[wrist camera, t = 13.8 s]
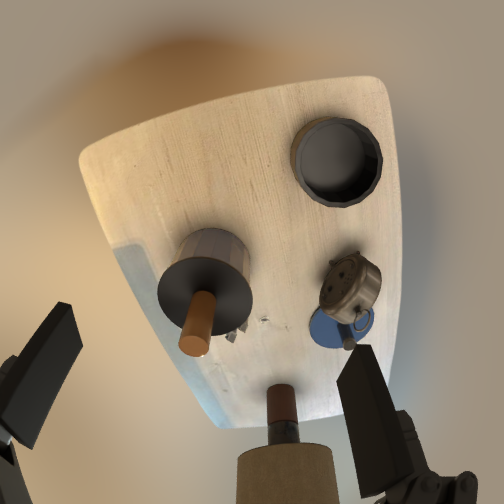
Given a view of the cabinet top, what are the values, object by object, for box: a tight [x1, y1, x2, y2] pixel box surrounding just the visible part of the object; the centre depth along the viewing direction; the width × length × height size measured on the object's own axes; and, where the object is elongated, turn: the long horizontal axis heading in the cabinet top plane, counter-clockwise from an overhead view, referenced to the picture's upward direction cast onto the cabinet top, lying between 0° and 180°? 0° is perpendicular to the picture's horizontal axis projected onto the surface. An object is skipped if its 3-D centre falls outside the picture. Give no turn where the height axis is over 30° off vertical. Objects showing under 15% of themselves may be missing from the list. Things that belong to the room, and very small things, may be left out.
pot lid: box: [310, 307, 374, 351], centre depth 53 cm, size 14×14×7 cm
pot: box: [170, 228, 250, 286], centre depth 45 cm, size 13×13×10 cm
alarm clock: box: [319, 251, 382, 332], centre depth 43 cm, size 11×5×16 cm, turn 147°
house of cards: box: [225, 316, 270, 343], centre depth 52 cm, size 9×9×8 cm
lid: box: [157, 256, 253, 357], centre depth 36 cm, size 14×14×10 cm
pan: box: [290, 117, 383, 208], centre depth 39 cm, size 13×13×6 cm
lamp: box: [236, 384, 340, 504], centre depth 51 cm, size 20×20×35 cm
